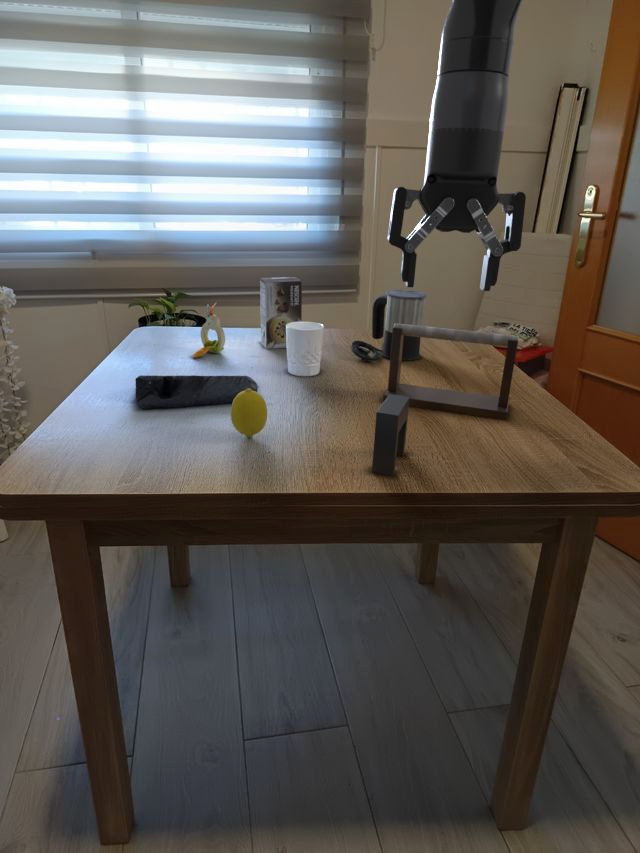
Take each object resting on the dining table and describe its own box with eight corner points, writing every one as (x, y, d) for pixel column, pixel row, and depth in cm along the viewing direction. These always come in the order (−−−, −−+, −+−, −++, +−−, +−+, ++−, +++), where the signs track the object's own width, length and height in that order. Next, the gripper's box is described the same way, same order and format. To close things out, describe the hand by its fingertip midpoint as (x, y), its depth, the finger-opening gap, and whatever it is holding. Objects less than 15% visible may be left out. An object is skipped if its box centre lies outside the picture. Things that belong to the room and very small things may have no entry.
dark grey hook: (371, 472, 79) (376, 412, 76) (384, 450, 86) (389, 393, 83) (392, 476, 79) (398, 415, 75) (404, 453, 86) (410, 396, 82)
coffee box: (294, 341, 147) (296, 276, 140) (301, 347, 141) (303, 280, 135) (259, 342, 144) (259, 276, 138) (265, 349, 138) (265, 280, 132)
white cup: (288, 378, 118) (288, 330, 114) (282, 367, 125) (283, 321, 121) (325, 376, 119) (327, 329, 115) (318, 366, 126) (319, 321, 123)
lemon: (264, 429, 92) (264, 382, 89) (269, 443, 87) (269, 393, 84) (230, 431, 91) (228, 383, 88) (232, 445, 86) (231, 395, 83)
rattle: (181, 352, 133) (178, 302, 129) (213, 347, 138) (211, 299, 134) (195, 359, 128) (193, 308, 123) (228, 354, 132) (227, 305, 128)
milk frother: (426, 355, 138) (433, 292, 132) (400, 370, 125) (406, 302, 120) (373, 346, 145) (377, 286, 139) (343, 359, 132) (346, 294, 126)
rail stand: (508, 405, 107) (520, 331, 101) (506, 420, 100) (519, 341, 94) (392, 389, 113) (398, 319, 108) (382, 402, 106) (388, 327, 101)
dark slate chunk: (260, 408, 101) (260, 382, 99) (130, 411, 97) (128, 385, 96) (255, 381, 115) (255, 358, 113) (142, 383, 111) (140, 359, 110)
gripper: (400, 121, 56) (386, 291, 62) (548, 127, 55) (519, 296, 62) (394, 129, 63) (382, 280, 69) (525, 134, 62) (501, 286, 68)
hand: (447, 288), depth 65 cm, fingers open, 8 cm apart
